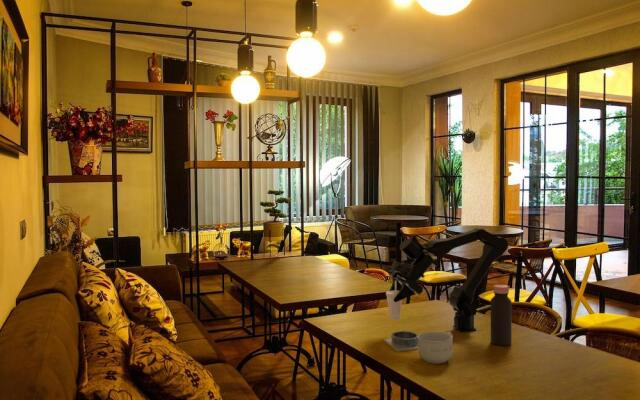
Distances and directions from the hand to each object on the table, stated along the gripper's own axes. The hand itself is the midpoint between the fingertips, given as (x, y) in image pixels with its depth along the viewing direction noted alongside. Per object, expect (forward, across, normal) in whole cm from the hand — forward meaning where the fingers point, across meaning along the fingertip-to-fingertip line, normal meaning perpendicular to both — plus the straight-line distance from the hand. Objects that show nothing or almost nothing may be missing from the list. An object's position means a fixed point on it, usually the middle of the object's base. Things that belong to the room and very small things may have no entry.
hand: (391, 299), depth 182 cm
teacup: (+6, +27, +14) cm, 30 cm away
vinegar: (-14, +18, +33) cm, 40 cm away
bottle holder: (+9, +11, +10) cm, 17 cm away
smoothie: (+4, 0, +6) cm, 7 cm away
